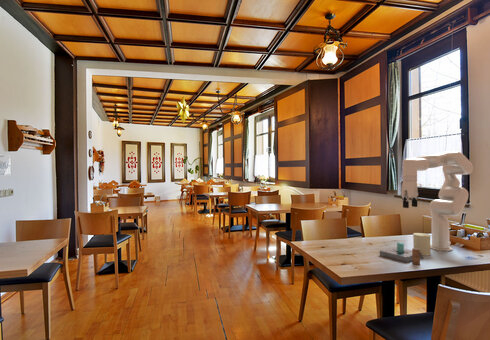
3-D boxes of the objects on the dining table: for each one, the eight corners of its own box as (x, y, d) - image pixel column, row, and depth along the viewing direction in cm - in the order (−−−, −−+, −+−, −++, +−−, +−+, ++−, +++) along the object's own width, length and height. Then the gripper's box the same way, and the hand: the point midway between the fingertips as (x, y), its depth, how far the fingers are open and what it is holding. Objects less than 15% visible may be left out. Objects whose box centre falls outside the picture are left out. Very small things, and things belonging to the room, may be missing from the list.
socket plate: (395, 251, 181) (395, 246, 181) (421, 257, 167) (421, 252, 167) (379, 255, 172) (379, 250, 172) (406, 262, 159) (406, 257, 159)
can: (422, 256, 171) (422, 235, 171) (409, 251, 180) (409, 232, 180) (434, 254, 173) (434, 234, 173) (421, 250, 182) (421, 231, 182)
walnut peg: (414, 262, 159) (414, 248, 159) (421, 264, 156) (421, 249, 156) (411, 263, 157) (411, 249, 157) (417, 265, 154) (417, 250, 154)
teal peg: (399, 255, 172) (399, 242, 172) (405, 257, 169) (405, 243, 169) (395, 256, 170) (395, 242, 170) (401, 258, 167) (401, 244, 167)
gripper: (411, 178, 184) (411, 205, 183) (395, 179, 174) (396, 207, 174) (423, 179, 177) (424, 206, 177) (408, 179, 168) (408, 208, 168)
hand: (410, 207), depth 176 cm, fingers open, 9 cm apart
